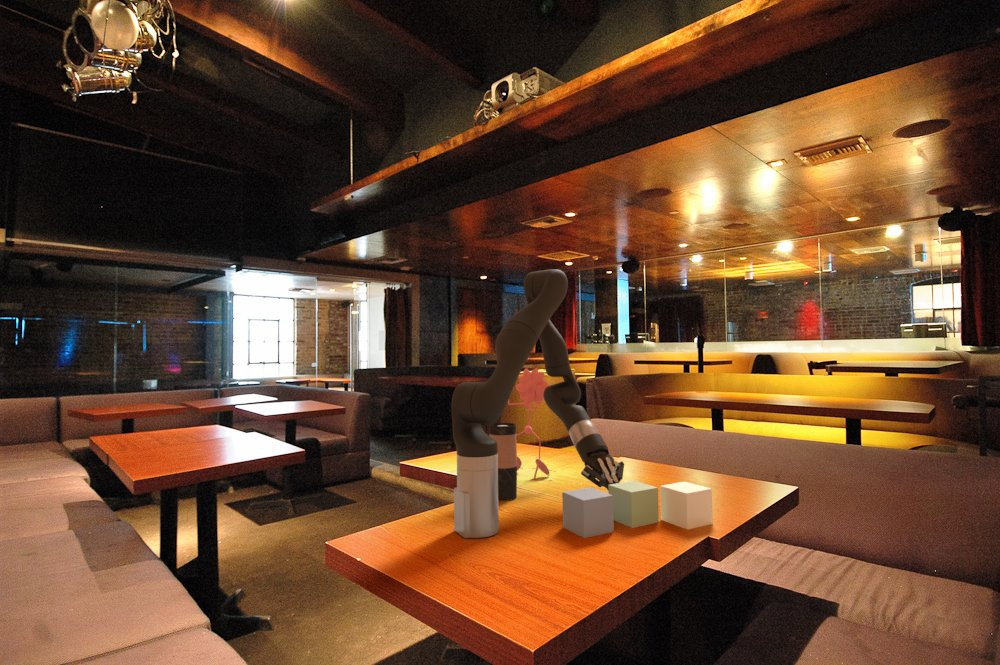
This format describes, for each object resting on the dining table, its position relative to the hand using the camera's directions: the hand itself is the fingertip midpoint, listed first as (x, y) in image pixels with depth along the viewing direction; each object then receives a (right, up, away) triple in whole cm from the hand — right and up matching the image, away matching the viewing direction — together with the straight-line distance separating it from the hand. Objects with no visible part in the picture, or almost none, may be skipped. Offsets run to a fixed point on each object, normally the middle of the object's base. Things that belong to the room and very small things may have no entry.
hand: (619, 498), depth 125 cm
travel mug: (-28, -5, +17) cm, 33 cm away
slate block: (-10, -4, -10) cm, 14 cm away
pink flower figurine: (-18, -6, +45) cm, 49 cm away
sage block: (+2, -4, -4) cm, 6 cm away
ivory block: (+14, -3, -6) cm, 16 cm away
